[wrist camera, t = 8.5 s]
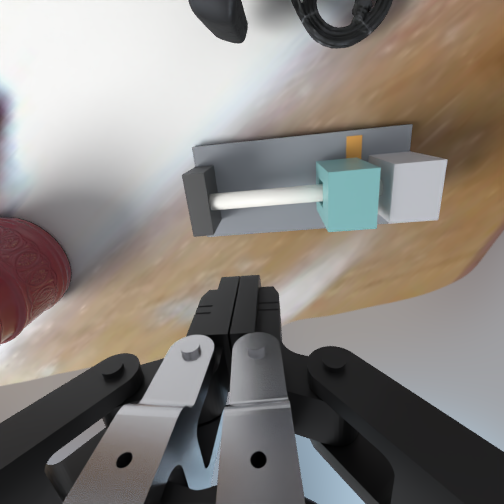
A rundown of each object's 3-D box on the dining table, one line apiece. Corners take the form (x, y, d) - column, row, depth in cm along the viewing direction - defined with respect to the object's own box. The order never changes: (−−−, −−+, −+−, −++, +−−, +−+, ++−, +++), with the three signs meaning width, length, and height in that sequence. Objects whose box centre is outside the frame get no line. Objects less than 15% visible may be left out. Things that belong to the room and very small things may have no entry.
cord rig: (194, 146, 32) (171, 154, 24) (408, 124, 30) (452, 125, 22) (209, 233, 36) (192, 262, 28) (398, 219, 34) (434, 246, 26)
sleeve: (315, 161, 30) (328, 172, 23) (356, 157, 30) (380, 167, 23) (316, 209, 32) (328, 232, 25) (354, 206, 32) (376, 228, 25)
